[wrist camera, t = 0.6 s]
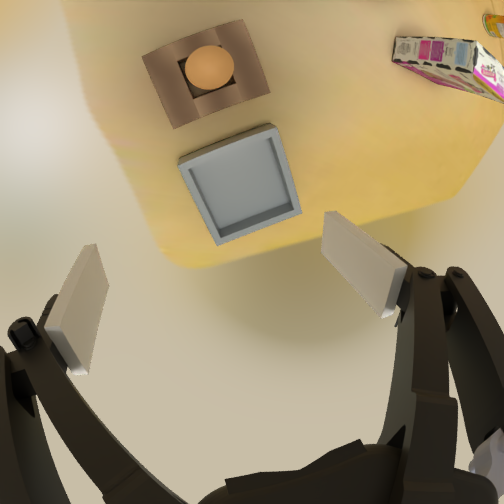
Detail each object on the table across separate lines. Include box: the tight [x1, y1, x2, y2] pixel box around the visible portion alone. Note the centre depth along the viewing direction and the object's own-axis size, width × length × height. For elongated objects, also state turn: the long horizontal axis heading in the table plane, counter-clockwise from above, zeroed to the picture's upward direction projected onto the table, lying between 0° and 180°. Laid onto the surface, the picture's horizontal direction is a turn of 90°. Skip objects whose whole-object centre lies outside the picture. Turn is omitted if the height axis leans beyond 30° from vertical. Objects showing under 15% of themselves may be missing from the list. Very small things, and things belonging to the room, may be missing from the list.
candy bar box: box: [392, 37, 504, 104], centre depth 24 cm, size 11×5×16 cm, turn 83°
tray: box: [177, 123, 302, 246], centre depth 38 cm, size 13×13×4 cm
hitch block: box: [142, 19, 270, 129], centre depth 28 cm, size 12×10×4 cm
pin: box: [185, 45, 234, 90], centre depth 24 cm, size 4×4×13 cm
